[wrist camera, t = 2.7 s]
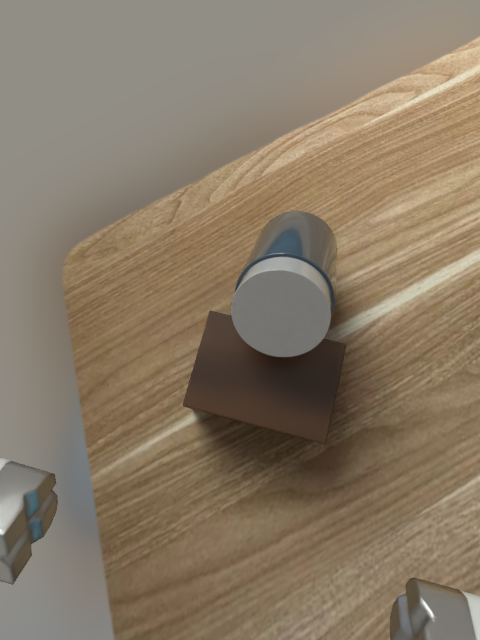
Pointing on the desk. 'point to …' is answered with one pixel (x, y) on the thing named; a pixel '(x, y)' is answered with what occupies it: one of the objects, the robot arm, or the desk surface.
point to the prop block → (264, 383)
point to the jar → (287, 286)
